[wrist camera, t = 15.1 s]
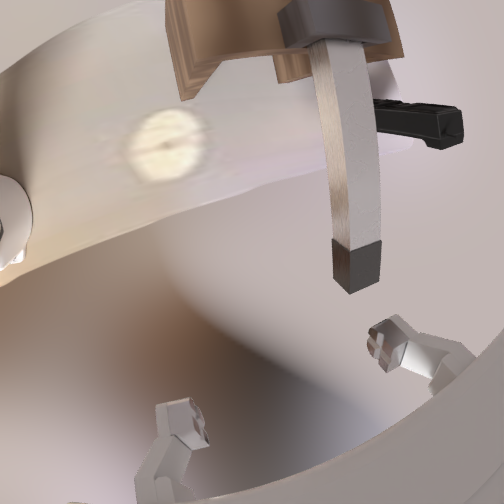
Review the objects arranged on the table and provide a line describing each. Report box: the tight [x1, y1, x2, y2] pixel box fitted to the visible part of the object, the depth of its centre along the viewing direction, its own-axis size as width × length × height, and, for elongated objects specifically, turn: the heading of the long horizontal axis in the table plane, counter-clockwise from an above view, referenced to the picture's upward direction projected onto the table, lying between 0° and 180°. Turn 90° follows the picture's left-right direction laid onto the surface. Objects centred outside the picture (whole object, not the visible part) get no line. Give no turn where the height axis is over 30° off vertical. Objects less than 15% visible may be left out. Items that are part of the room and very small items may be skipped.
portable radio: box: [373, 99, 464, 150], centre depth 34 cm, size 8×6×25 cm
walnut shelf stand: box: [165, 0, 404, 101], centre depth 21 cm, size 18×14×30 cm
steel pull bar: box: [307, 38, 382, 294], centre depth 17 cm, size 3×24×3 cm, turn 12°
